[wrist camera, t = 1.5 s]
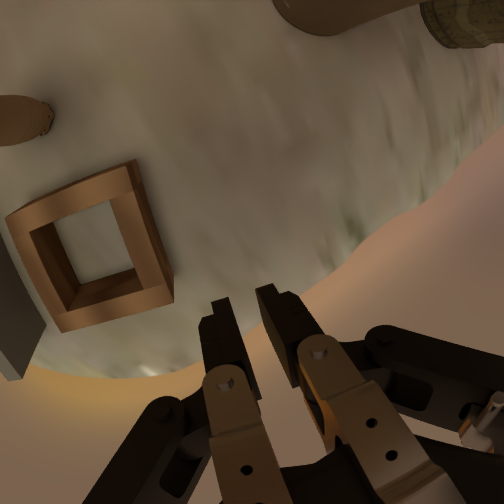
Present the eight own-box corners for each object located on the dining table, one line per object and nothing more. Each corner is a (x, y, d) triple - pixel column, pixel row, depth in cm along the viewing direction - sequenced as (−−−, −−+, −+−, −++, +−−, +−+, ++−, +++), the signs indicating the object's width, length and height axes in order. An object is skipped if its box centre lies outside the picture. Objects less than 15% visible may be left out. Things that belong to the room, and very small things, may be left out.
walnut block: (135, 158, 24) (125, 165, 19) (173, 275, 29) (174, 302, 25) (28, 202, 22) (4, 217, 18) (73, 305, 28) (61, 333, 23)
